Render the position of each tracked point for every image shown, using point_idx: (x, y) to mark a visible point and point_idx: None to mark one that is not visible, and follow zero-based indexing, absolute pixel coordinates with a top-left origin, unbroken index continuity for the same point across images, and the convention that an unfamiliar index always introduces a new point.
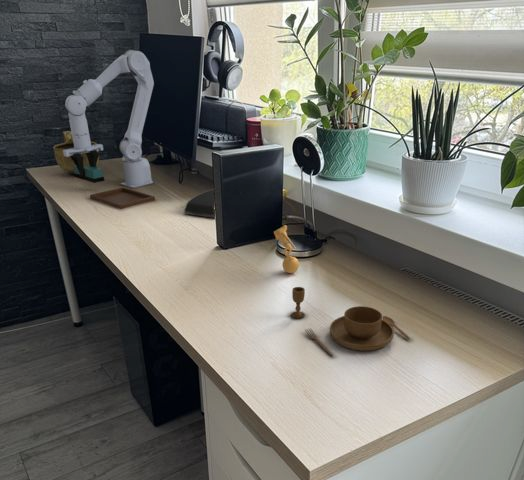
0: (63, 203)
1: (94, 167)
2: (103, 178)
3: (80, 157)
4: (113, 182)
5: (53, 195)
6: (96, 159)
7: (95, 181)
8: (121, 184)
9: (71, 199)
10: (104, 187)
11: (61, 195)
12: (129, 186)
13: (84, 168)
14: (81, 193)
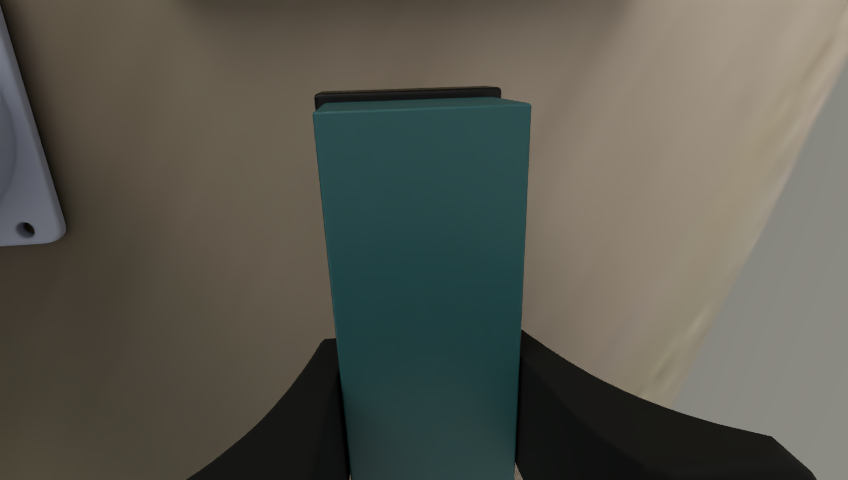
0: (822, 44)
1: (355, 329)
2: (332, 91)
3: (740, 455)
4: (101, 369)
5: (697, 336)
6: (244, 454)
7: (470, 87)
8: (62, 216)
9: (700, 113)
10: (261, 267)
11: (664, 294)
12: (7, 43)
13: (507, 375)
14: (528, 232)
